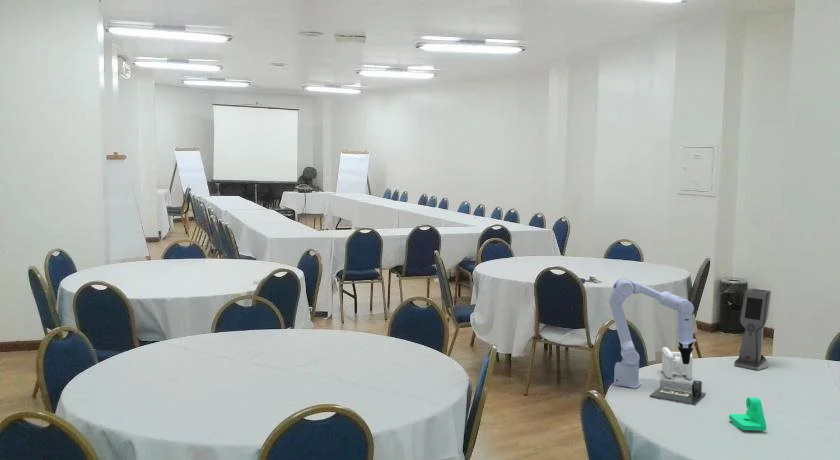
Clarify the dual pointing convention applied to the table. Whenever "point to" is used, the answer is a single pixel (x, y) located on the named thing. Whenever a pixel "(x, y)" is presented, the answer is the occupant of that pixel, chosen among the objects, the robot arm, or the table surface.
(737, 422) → the camera mount
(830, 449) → the table surface
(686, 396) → the label
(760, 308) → the thermal camera
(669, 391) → the label
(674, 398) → the lid
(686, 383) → the bar
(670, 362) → the cable organizer
